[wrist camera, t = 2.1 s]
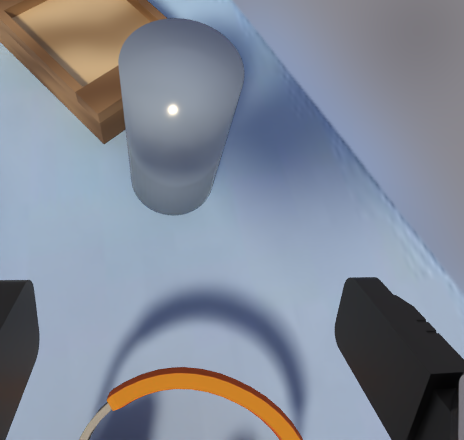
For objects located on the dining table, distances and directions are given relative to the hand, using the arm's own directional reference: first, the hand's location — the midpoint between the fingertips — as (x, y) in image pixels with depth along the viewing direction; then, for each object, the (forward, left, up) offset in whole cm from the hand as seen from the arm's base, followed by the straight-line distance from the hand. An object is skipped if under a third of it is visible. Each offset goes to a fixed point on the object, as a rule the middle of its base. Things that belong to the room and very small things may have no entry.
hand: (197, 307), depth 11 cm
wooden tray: (-11, +19, -15) cm, 26 cm away
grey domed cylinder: (-3, +11, -15) cm, 19 cm away
